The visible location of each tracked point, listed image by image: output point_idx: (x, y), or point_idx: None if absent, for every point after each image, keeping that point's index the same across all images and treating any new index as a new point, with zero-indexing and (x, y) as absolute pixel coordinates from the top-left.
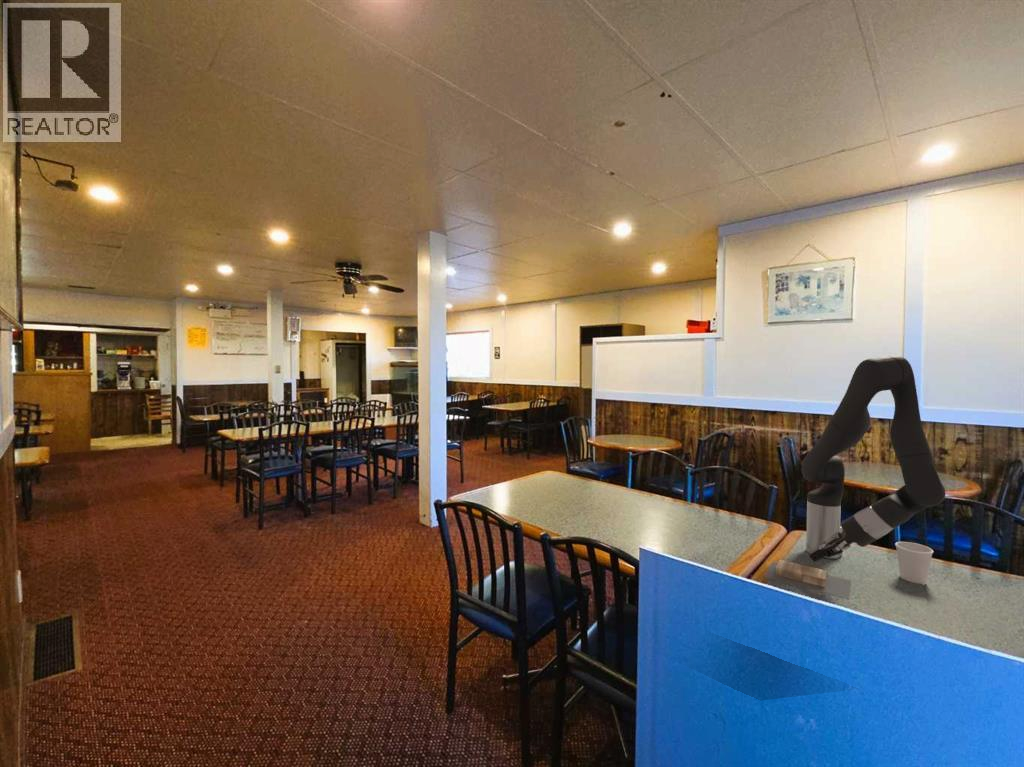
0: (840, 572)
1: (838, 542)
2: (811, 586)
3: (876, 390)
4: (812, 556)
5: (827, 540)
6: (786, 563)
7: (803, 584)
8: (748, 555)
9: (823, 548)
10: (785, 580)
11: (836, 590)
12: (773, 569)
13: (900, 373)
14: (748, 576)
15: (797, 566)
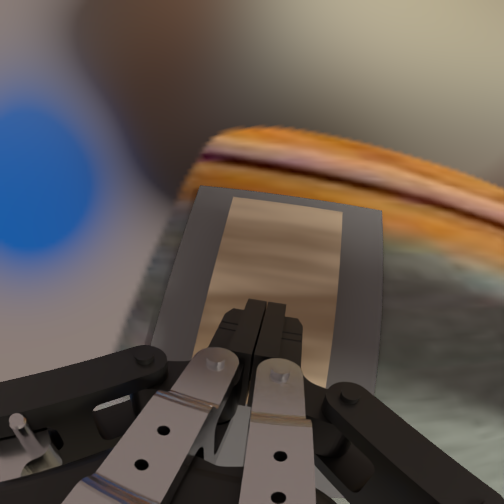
0: None
1: (18, 479)
2: (187, 339)
3: None
4: (228, 316)
5: (249, 427)
6: (310, 235)
7: (192, 310)
8: (393, 154)
9: (116, 360)
10: (202, 248)
11: None
12: None
13: None
14: (201, 154)
15: (298, 279)
